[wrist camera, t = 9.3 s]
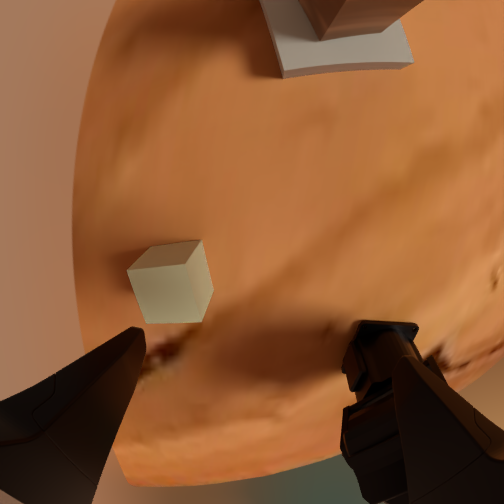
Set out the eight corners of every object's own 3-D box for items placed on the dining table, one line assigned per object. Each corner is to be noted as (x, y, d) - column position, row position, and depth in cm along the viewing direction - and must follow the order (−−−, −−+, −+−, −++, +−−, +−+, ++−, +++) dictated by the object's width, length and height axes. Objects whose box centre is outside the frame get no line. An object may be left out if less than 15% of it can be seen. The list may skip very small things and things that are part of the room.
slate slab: (397, 70, 16) (414, 62, 13) (282, 80, 17) (284, 70, 14) (363, -21, 12) (373, -37, 9) (253, -14, 14) (250, -33, 11)
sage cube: (201, 239, 22) (185, 263, 17) (214, 289, 23) (201, 322, 19) (150, 246, 22) (126, 270, 18) (165, 293, 24) (146, 323, 20)
